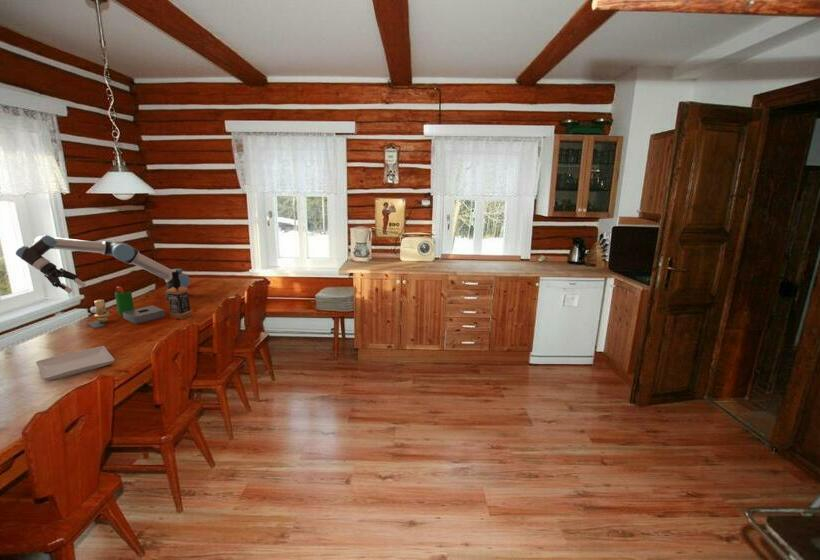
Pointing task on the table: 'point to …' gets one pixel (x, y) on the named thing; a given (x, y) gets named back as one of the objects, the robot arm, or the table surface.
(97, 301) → the brass flanged peg
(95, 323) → the charcoal mat
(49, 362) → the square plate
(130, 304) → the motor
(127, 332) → the table surface
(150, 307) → the plate
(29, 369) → the table surface
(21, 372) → the table surface
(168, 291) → the whiskey bottle
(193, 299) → the table surface
